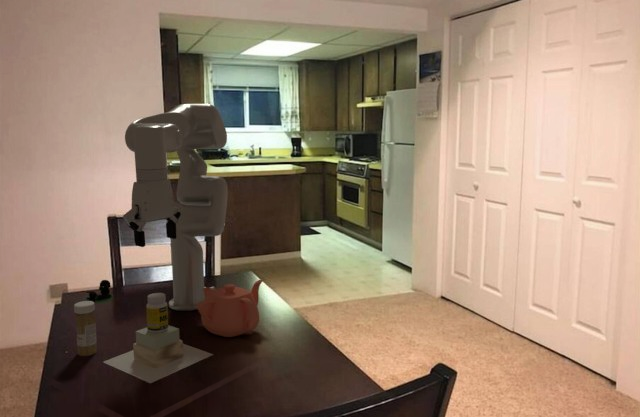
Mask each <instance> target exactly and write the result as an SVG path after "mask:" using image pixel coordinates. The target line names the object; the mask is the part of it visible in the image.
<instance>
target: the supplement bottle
mask: <svg viewBox="0 0 640 417" xmlns="http://www.w3.org/2000/svg"><path fill="white" fill-rule="evenodd" d="M166 299H167V298H166V294H165V293H163V292H155V293H153V292H152V293H150V294H148V295H147V304H146V326H147V330H148V331H149V332H151V333H160V332H164V331H166V330H167V329H168V325H169V314H168V313H169V312H168V310H169V308H168V303H167V301H166Z"/></svg>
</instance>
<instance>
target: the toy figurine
mask: <svg viewBox="0 0 640 417" xmlns="http://www.w3.org/2000/svg"><path fill="white" fill-rule="evenodd" d="M110 288H112V285H111V281H110V280H108V279H102V280H101V281H100V282H99V286H98V290H99V291H92V290H91V291H90V290H89V291H88V290H87V291H86V293H88V296H87V297H86V298H84V301H92V302H94V304H99V303H100V304H101V303H106V302H109V300H110V301H112V300H113V299H112V298H113V295H114V294H111V293H110V291H111V290H110ZM111 299H112V300H111Z"/></svg>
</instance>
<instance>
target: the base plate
mask: <svg viewBox="0 0 640 417" xmlns="http://www.w3.org/2000/svg"><path fill="white" fill-rule="evenodd" d="M212 356H214V353H210V352H208V351H205V350H202V349H199V348H196V347H194V346H191V345H188V344H185V343H183V357H181V358H179V359H176V360H174V361H172V362H170V363H167V364H165V365H163V366H160V367H158V368H156V369H155V368H153V367H150V366H148V365H145V364H143V363H141V362H138V361H136V360H134V350H133V349H132V350H129V351H127V352H125V353H123V354H120V355H119V354H118V355H117V356H115V357H112V358H110V359H107V360H104V361H102V363H104V364H106V365H108V366H110V367H113V368H114V369H116V370H119V371H121V372H124V373H126V374H128V375H131V376H133V377H135V378H137V379H139V380H141V381H144V382H146V383H148V384H152V383H154V382H156V381H159V380H161V379H164V378H165V377H168V376H170V375H172V374H175V373H177V372H178V371H181V370H183V369H185V368H187V367H190V366H192V365H193V364H196V363H198V362H200V361H202V360H205V359H207V358H209V357H212Z"/></svg>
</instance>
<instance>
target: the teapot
mask: <svg viewBox="0 0 640 417" xmlns="http://www.w3.org/2000/svg"><path fill="white" fill-rule="evenodd" d="M263 282H264V279H263V278H262V279H258V280H256V281H255V282H254V283H253V286H252V288H251V291H250V290H248V289H247V288H243V287H240V286H236V285H235V284H233V283H227V284H225V285H223V287H218V288H215V290H211V288H210V287H209V286H208V287H207V286H205V287H206V288H203V291H204V295H205V300H203V301H201V302H199V303H198V305H197V308H198V309H197V311H198V313H199V314H200V315H201V319H200V320H201V323H202V324H201V325H202V326H203V327H204V328H205V329H206V330H207V331H208V332H210V333H211V334H212V335H213V334H214V335H217V336H221V337H225V338H232V337H233V338H234V337H237V336H240V335H247V336H248V335H252V334H253V333H254V332H253V330H255V329H256V328H257V326H258V325H259V323H260V313H259V309H258V305H259V300H260V299H259V297H260V296H259V290H260V286H261V284H262V283H263Z"/></svg>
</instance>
